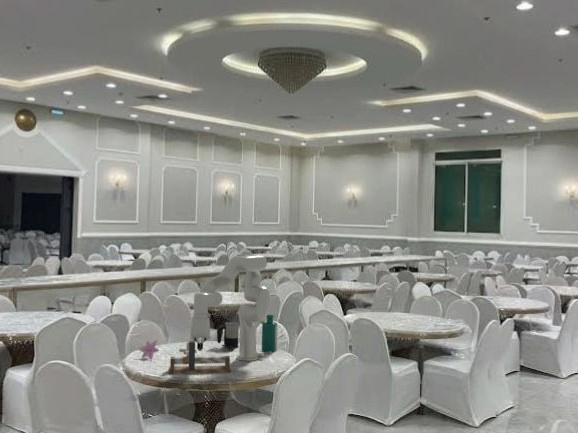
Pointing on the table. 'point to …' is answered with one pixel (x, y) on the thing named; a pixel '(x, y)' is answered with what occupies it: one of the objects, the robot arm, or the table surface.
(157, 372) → the table surface
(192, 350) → the dark grey tapered slab
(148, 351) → the lily
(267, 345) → the teal bottle
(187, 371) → the pipe stand
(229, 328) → the milk frother
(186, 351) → the pipe connector
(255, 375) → the table surface
